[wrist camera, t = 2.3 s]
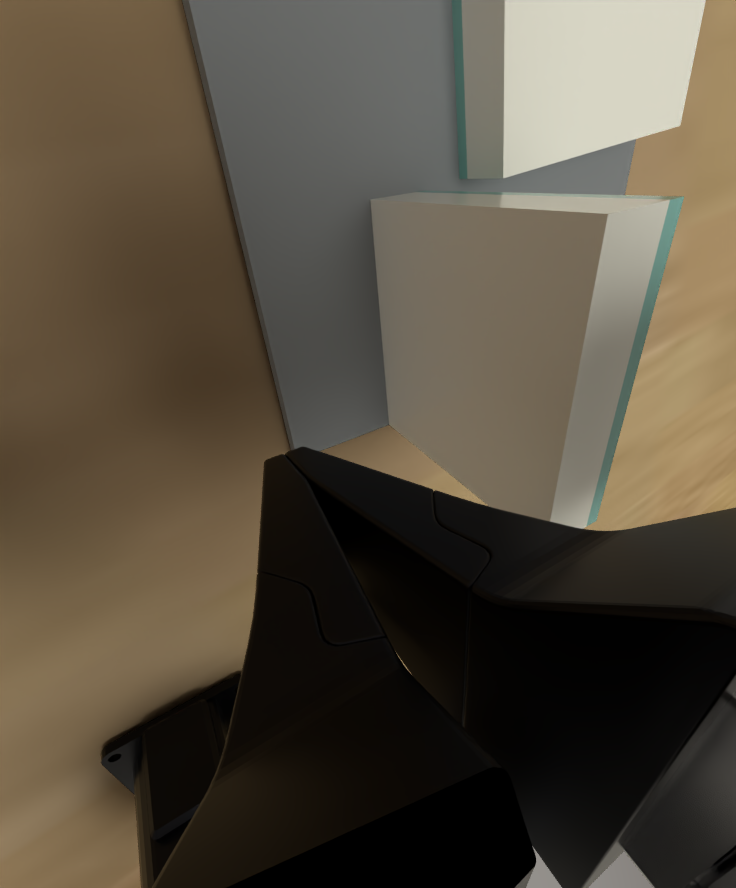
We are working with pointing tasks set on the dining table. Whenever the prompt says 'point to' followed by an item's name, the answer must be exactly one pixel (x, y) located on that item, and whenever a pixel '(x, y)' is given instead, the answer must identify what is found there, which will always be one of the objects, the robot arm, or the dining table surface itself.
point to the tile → (518, 335)
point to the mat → (339, 176)
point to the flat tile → (566, 77)
